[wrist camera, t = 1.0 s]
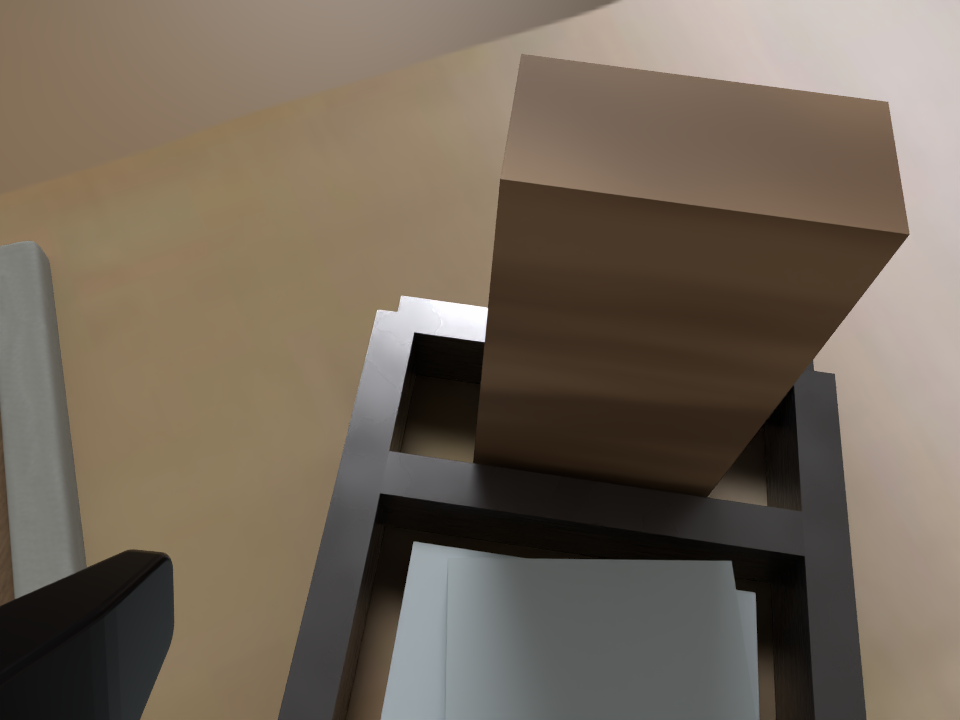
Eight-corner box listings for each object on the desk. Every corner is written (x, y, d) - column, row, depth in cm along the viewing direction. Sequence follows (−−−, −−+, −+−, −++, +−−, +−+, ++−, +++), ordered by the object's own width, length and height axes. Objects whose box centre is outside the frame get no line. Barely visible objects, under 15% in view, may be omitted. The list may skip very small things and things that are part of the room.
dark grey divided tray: (841, 1011, 19) (895, 1033, 16) (252, 914, 19) (228, 923, 17) (800, 396, 26) (833, 356, 24) (386, 337, 27) (381, 292, 25)
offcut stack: (741, 907, 19) (788, 917, 17) (362, 847, 20) (351, 847, 17) (736, 598, 23) (774, 567, 21) (416, 550, 23) (414, 513, 21)
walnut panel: (691, 517, 24) (909, 234, 13) (471, 484, 24) (500, 178, 13) (692, 426, 26) (888, 101, 15) (484, 396, 26) (521, 53, 15)
